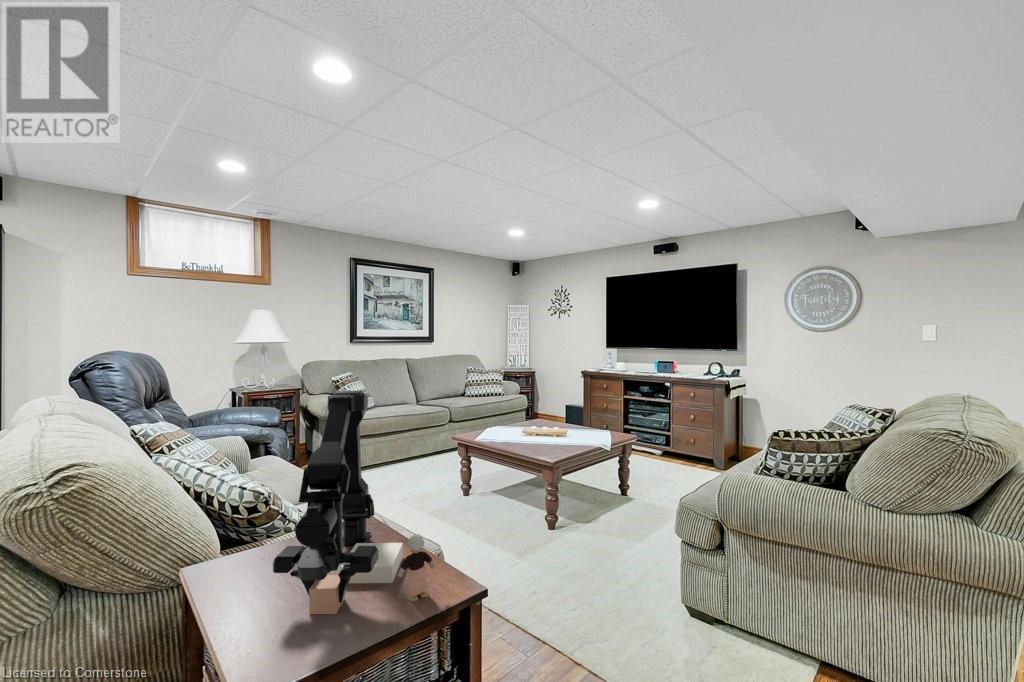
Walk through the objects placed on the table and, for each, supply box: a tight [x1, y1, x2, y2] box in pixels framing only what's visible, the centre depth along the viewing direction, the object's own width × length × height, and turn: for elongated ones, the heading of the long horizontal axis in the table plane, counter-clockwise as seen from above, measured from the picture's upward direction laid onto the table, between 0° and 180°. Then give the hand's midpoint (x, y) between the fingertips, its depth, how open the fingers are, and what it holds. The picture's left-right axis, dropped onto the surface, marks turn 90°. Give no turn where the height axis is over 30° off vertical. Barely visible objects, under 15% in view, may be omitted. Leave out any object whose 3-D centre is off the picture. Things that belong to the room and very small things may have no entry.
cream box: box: [340, 542, 404, 584], centre depth 106 cm, size 11×11×4 cm
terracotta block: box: [308, 574, 346, 615], centre depth 92 cm, size 5×5×5 cm
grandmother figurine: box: [397, 533, 436, 603], centre depth 96 cm, size 8×4×13 cm, turn 135°
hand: (327, 601), depth 92 cm, fingers closed on terracotta block, 5 cm apart
